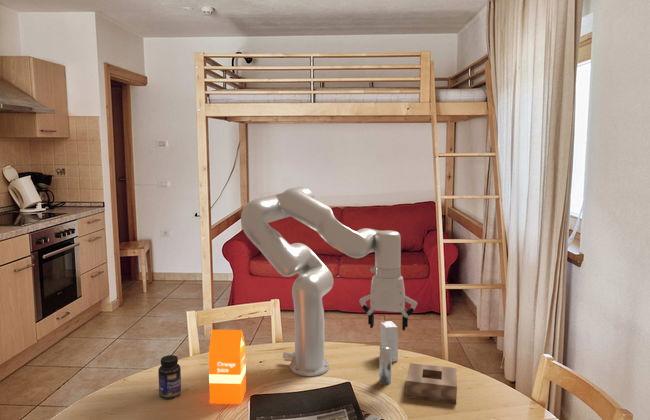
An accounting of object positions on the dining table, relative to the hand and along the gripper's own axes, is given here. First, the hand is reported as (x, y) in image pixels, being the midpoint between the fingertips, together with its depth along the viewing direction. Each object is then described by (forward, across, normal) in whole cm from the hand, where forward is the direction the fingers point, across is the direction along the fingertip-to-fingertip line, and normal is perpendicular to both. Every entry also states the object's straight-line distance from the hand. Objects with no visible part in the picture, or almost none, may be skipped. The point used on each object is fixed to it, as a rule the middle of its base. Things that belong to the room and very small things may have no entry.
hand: (387, 327), depth 148 cm
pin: (+17, -1, 0) cm, 17 cm away
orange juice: (+16, -43, -21) cm, 51 cm away
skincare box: (+17, -2, +17) cm, 24 cm away
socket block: (+18, +13, -2) cm, 22 cm away
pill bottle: (+16, -60, -24) cm, 66 cm away
